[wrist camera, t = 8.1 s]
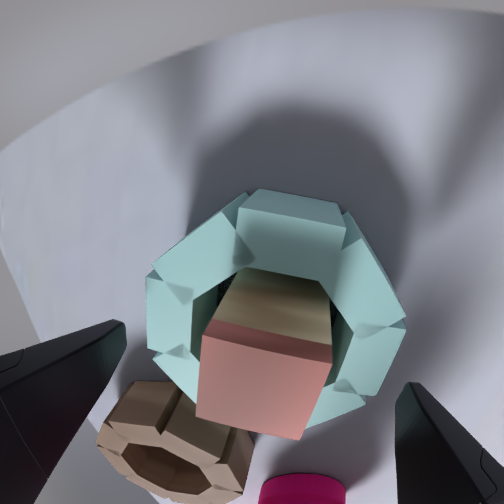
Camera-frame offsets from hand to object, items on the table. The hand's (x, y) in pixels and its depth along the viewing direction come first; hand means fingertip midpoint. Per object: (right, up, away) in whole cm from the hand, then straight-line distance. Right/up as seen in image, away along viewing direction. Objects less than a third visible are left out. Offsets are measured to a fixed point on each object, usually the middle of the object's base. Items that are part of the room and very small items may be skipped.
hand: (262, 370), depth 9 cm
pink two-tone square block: (+1, +2, +4) cm, 5 cm away
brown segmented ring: (-5, -8, +9) cm, 13 cm away
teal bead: (+1, +2, +4) cm, 5 cm away
